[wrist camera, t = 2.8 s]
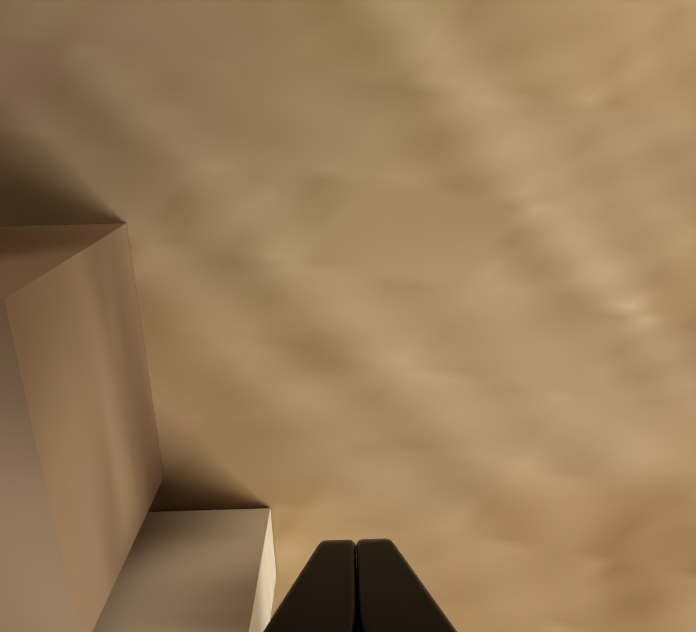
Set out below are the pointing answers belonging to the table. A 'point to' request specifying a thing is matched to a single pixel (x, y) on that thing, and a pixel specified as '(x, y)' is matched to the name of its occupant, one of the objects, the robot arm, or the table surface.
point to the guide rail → (195, 574)
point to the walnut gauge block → (70, 423)
